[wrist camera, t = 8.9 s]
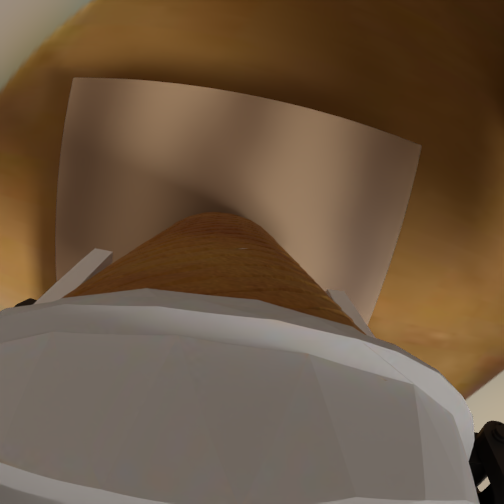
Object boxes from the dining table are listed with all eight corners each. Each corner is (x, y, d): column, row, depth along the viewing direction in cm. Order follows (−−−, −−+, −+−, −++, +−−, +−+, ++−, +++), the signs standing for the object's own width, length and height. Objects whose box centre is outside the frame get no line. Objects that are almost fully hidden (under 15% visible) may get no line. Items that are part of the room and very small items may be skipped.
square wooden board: (393, 143, 16) (421, 145, 13) (317, 383, 21) (326, 414, 18) (98, 86, 14) (73, 77, 11) (83, 345, 19) (66, 373, 16)
